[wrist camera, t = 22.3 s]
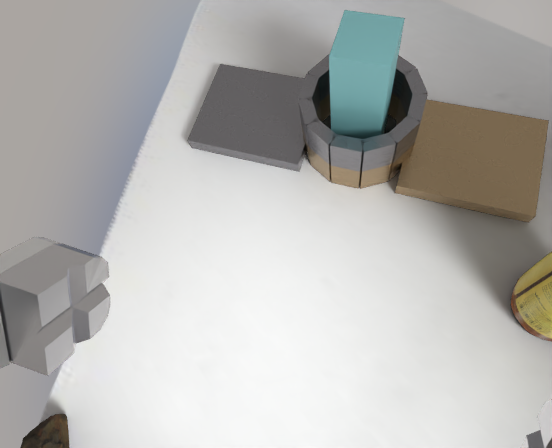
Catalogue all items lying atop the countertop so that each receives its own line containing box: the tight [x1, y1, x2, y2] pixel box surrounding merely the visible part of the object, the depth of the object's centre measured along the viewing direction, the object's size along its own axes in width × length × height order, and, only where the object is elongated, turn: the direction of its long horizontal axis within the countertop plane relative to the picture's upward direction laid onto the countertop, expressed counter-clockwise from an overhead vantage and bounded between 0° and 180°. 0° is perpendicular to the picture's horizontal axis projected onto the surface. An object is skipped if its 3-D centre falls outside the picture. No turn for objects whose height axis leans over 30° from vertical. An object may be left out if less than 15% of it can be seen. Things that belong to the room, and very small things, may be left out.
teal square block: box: [329, 10, 405, 139], centre depth 39 cm, size 4×4×14 cm
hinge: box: [188, 55, 548, 223], centre depth 43 cm, size 34×11×7 cm, turn 73°
